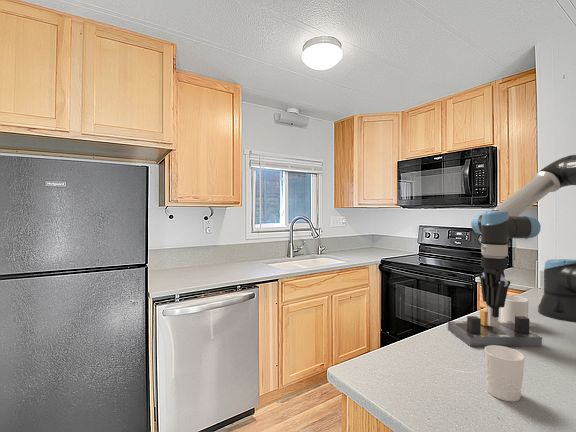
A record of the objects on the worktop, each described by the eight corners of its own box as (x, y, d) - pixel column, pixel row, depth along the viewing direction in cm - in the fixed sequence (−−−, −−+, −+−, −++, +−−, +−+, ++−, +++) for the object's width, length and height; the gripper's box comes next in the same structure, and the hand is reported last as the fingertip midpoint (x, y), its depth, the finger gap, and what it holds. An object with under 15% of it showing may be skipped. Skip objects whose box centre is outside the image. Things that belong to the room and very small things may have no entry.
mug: (509, 317, 126) (510, 292, 126) (535, 324, 120) (535, 297, 119) (496, 324, 119) (497, 297, 119) (522, 331, 113) (523, 303, 112)
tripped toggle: (488, 323, 112) (488, 309, 111) (493, 326, 109) (493, 311, 109) (480, 323, 112) (480, 309, 111) (484, 326, 109) (484, 311, 109)
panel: (510, 329, 115) (511, 307, 114) (541, 346, 101) (542, 321, 100) (447, 329, 115) (448, 307, 114) (469, 346, 101) (470, 321, 100)
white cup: (476, 384, 79) (477, 345, 79) (505, 383, 80) (506, 344, 79) (500, 404, 71) (500, 361, 71) (532, 402, 72) (533, 359, 72)
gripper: (471, 253, 113) (470, 318, 114) (495, 259, 100) (494, 333, 101) (492, 253, 113) (491, 318, 114) (519, 259, 100) (517, 333, 101)
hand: (492, 325), depth 107 cm, fingers closed
